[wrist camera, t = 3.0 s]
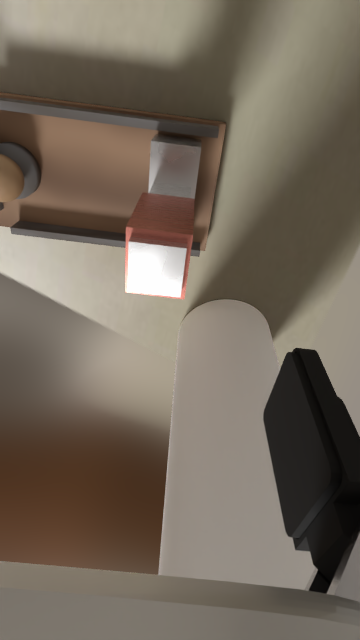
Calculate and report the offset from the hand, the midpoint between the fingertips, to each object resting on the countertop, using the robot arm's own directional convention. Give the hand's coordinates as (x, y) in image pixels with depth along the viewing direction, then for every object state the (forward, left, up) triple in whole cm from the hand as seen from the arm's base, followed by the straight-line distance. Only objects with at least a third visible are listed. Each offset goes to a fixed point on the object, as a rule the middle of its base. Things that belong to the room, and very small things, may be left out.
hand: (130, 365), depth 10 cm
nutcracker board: (0, -6, -19) cm, 20 cm away
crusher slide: (0, 0, -18) cm, 18 cm away
